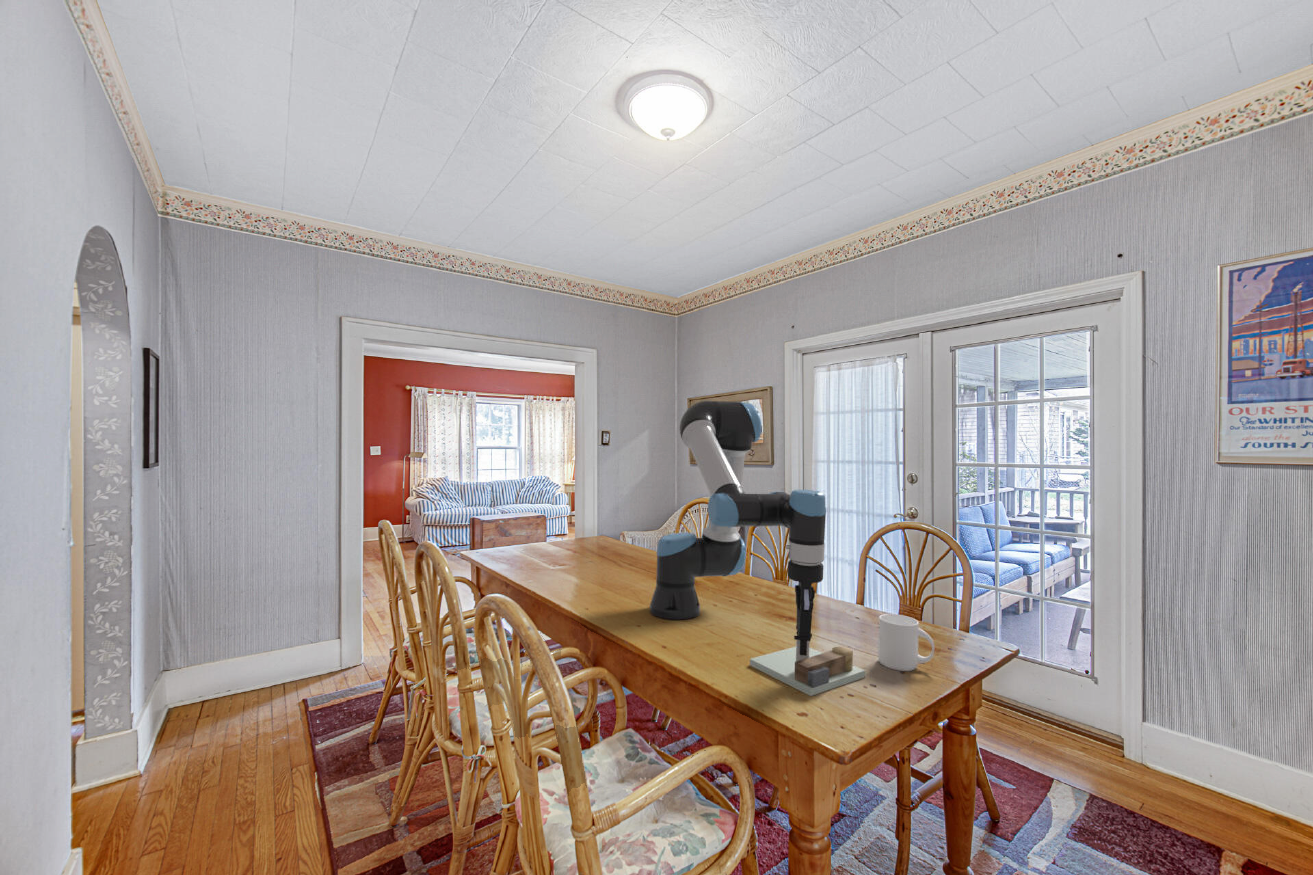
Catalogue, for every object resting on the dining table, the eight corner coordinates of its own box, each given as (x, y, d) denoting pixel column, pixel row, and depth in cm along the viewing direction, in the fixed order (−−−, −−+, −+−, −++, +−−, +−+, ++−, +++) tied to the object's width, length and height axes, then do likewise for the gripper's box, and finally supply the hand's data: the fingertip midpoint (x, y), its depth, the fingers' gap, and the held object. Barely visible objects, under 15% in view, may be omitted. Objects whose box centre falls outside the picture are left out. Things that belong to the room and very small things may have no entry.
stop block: (807, 685, 115) (807, 671, 115) (823, 680, 117) (823, 666, 117) (812, 688, 114) (813, 673, 114) (828, 682, 116) (828, 668, 116)
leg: (809, 685, 114) (809, 667, 114) (792, 677, 118) (793, 659, 118) (856, 668, 124) (856, 651, 124) (839, 661, 127) (840, 645, 127)
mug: (932, 678, 123) (933, 630, 123) (875, 666, 130) (876, 620, 130) (935, 665, 131) (936, 620, 131) (881, 654, 137) (882, 611, 137)
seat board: (749, 665, 128) (749, 658, 128) (802, 650, 138) (802, 644, 138) (810, 695, 113) (811, 688, 113) (865, 677, 123) (865, 670, 123)
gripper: (786, 553, 127) (783, 653, 128) (789, 567, 115) (785, 678, 116) (820, 555, 126) (816, 657, 127) (826, 570, 114) (822, 682, 114)
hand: (802, 667), depth 121 cm, fingers closed
